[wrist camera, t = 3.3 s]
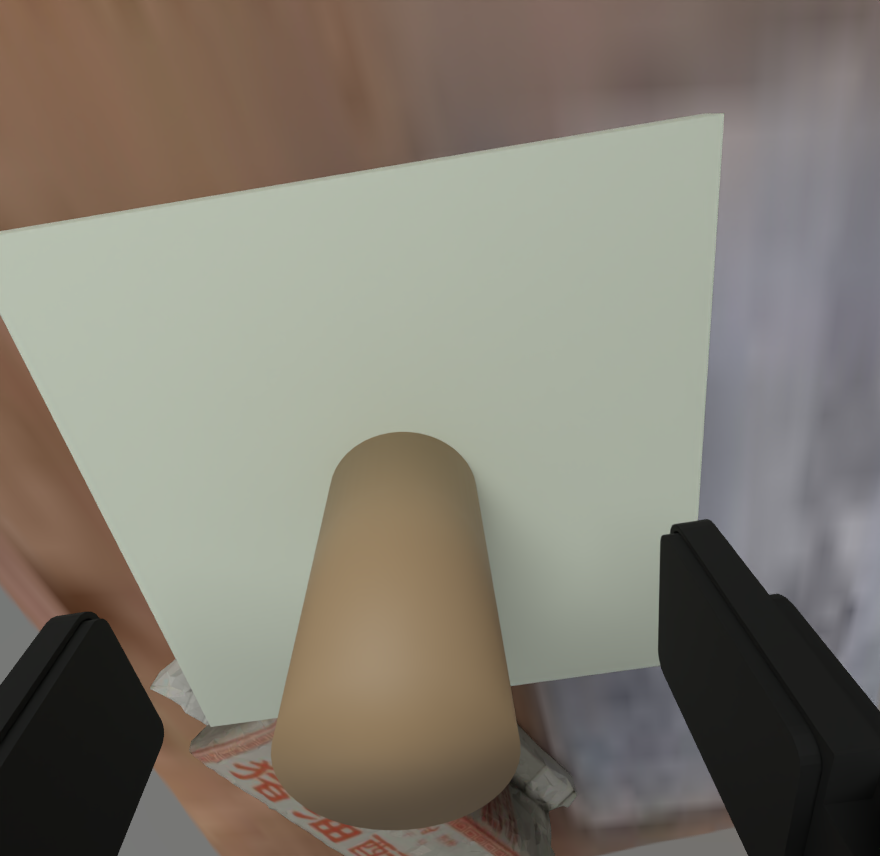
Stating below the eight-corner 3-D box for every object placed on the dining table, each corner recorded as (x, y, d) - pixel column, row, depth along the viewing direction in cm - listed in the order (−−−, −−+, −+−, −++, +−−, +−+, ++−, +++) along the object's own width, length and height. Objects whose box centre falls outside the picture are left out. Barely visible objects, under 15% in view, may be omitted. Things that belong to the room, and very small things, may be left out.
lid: (703, 113, 10) (1097, 108, 4) (676, 638, 16) (828, 938, 10) (-9, 232, 11) (-529, 374, 5) (219, 701, 17) (111, 1024, 11)
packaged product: (605, 877, 25) (421, 953, 28) (577, 767, 30) (420, 842, 32) (316, 643, 18) (105, 774, 21) (335, 543, 23) (157, 661, 25)
